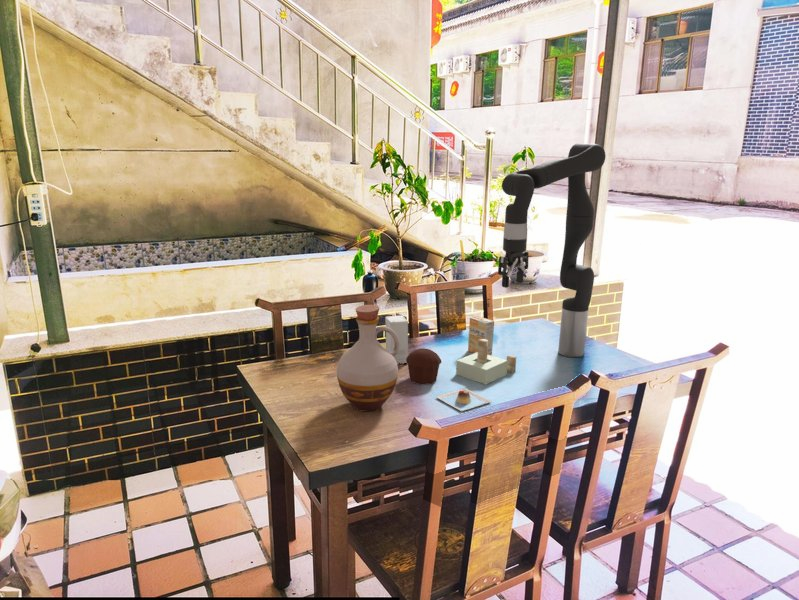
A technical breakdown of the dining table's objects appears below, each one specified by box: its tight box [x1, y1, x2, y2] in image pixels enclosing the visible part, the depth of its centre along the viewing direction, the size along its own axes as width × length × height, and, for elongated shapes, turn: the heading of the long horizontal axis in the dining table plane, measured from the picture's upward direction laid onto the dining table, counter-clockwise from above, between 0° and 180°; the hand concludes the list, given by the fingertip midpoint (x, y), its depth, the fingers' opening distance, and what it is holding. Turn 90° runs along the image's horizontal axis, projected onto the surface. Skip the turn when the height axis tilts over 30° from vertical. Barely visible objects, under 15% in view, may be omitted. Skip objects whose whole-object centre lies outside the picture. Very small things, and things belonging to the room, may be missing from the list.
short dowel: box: [506, 354, 517, 373], centre depth 205 cm, size 3×3×5 cm
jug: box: [336, 304, 399, 412], centre depth 173 cm, size 20×18×30 cm
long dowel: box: [477, 339, 488, 364], centre depth 200 cm, size 3×3×12 cm
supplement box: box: [467, 315, 495, 356], centre depth 220 cm, size 8×5×13 cm, turn 41°
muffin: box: [406, 348, 442, 386], centre depth 196 cm, size 12×11×10 cm
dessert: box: [435, 387, 492, 412], centre depth 180 cm, size 12×12×5 cm
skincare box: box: [385, 314, 409, 365], centre depth 211 cm, size 8×7×16 cm
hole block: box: [455, 352, 507, 385], centre depth 201 cm, size 12×12×5 cm
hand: (512, 284), depth 200 cm, fingers open, 8 cm apart
